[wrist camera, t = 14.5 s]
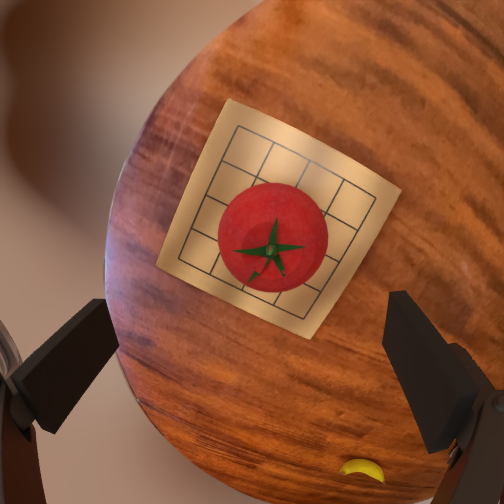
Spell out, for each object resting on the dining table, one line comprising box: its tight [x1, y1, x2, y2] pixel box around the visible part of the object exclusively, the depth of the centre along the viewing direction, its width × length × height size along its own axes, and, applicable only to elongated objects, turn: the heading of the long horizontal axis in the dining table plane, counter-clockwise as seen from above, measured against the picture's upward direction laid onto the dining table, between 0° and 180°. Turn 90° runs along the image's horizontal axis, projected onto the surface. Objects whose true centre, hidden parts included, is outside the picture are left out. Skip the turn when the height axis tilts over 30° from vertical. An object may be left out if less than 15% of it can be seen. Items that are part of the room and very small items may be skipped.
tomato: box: [218, 183, 328, 293], centre depth 24 cm, size 9×9×8 cm
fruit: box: [340, 459, 386, 485], centre depth 37 cm, size 10×2×5 cm, turn 63°
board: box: [156, 98, 402, 340], centre depth 28 cm, size 18×18×1 cm
